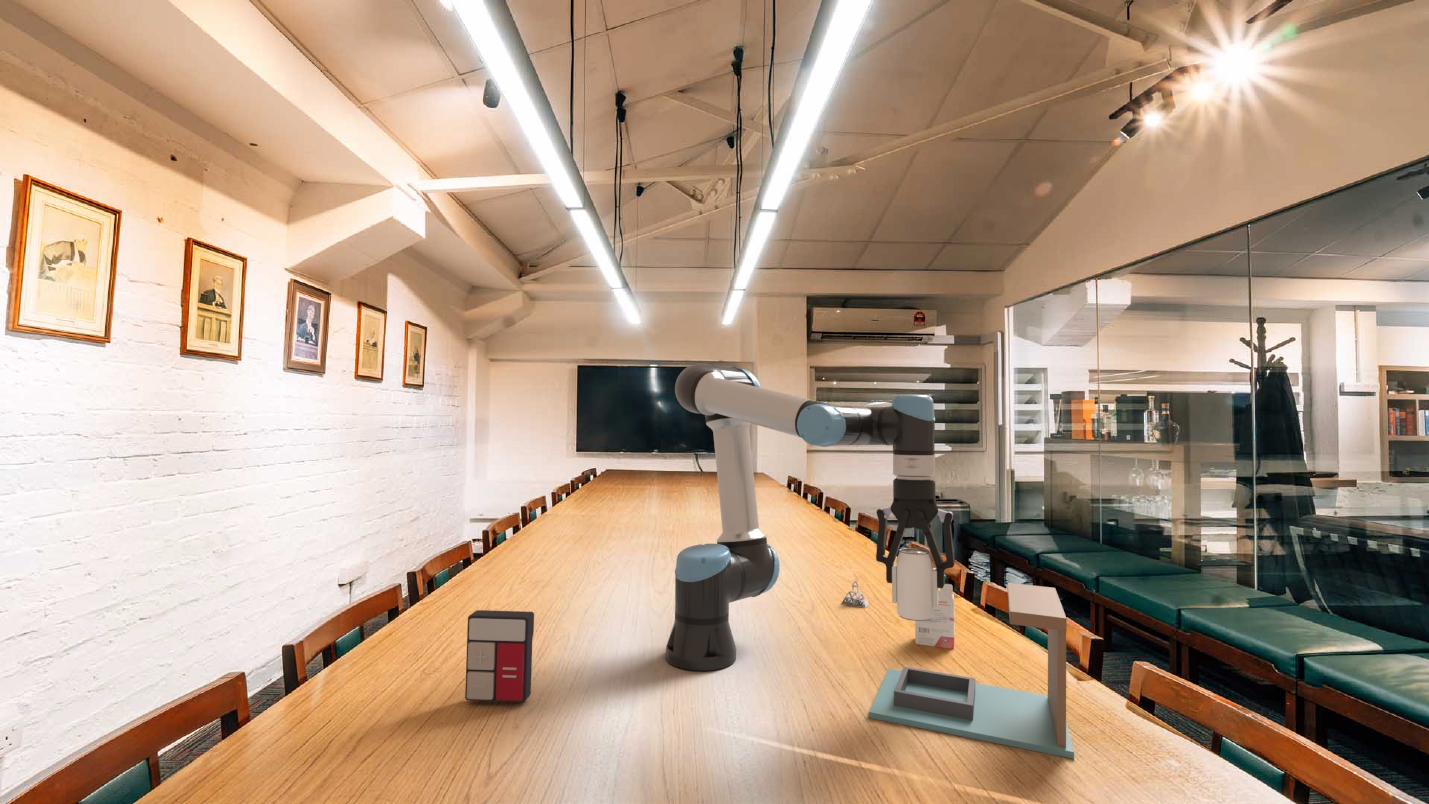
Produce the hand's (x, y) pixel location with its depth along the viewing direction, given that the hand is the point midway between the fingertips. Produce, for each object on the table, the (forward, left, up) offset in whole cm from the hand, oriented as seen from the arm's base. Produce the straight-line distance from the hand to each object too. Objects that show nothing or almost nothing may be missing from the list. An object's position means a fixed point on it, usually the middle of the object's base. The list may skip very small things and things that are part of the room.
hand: (915, 603), depth 118 cm
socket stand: (+4, 0, -18) cm, 18 cm away
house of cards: (-21, +59, -18) cm, 65 cm away
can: (0, 0, -3) cm, 3 cm away
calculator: (-68, -33, -18) cm, 78 cm away
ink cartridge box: (+1, +34, -18) cm, 39 cm away
